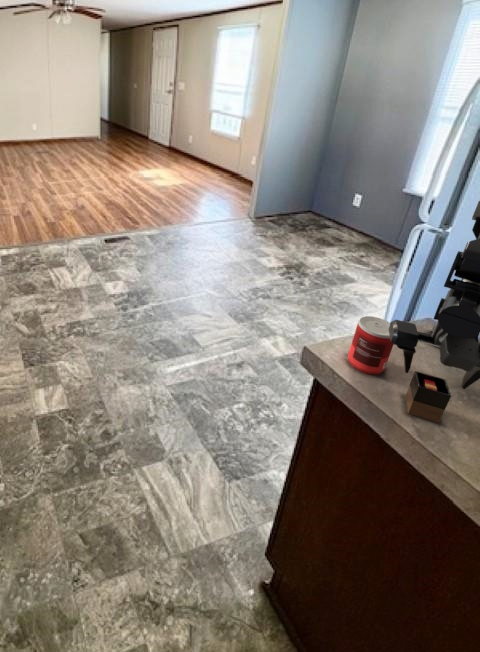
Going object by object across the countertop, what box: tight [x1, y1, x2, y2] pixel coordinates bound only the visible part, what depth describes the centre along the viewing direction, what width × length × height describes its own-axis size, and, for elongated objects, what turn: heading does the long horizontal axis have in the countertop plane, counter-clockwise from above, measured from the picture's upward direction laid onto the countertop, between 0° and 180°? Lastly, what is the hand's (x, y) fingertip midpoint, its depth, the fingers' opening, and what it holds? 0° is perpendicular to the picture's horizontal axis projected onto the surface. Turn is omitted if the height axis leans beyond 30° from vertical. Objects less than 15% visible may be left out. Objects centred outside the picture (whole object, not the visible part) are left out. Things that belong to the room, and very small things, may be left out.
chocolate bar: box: [421, 379, 437, 391], centre depth 85 cm, size 4×2×2 cm, turn 152°
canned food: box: [347, 315, 395, 375], centre depth 98 cm, size 8×8×11 cm
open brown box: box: [409, 370, 452, 411], centre depth 85 cm, size 5×5×4 cm
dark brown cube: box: [404, 384, 445, 424], centre depth 87 cm, size 5×5×4 cm
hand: (433, 379), depth 84 cm, fingers open, 9 cm apart
